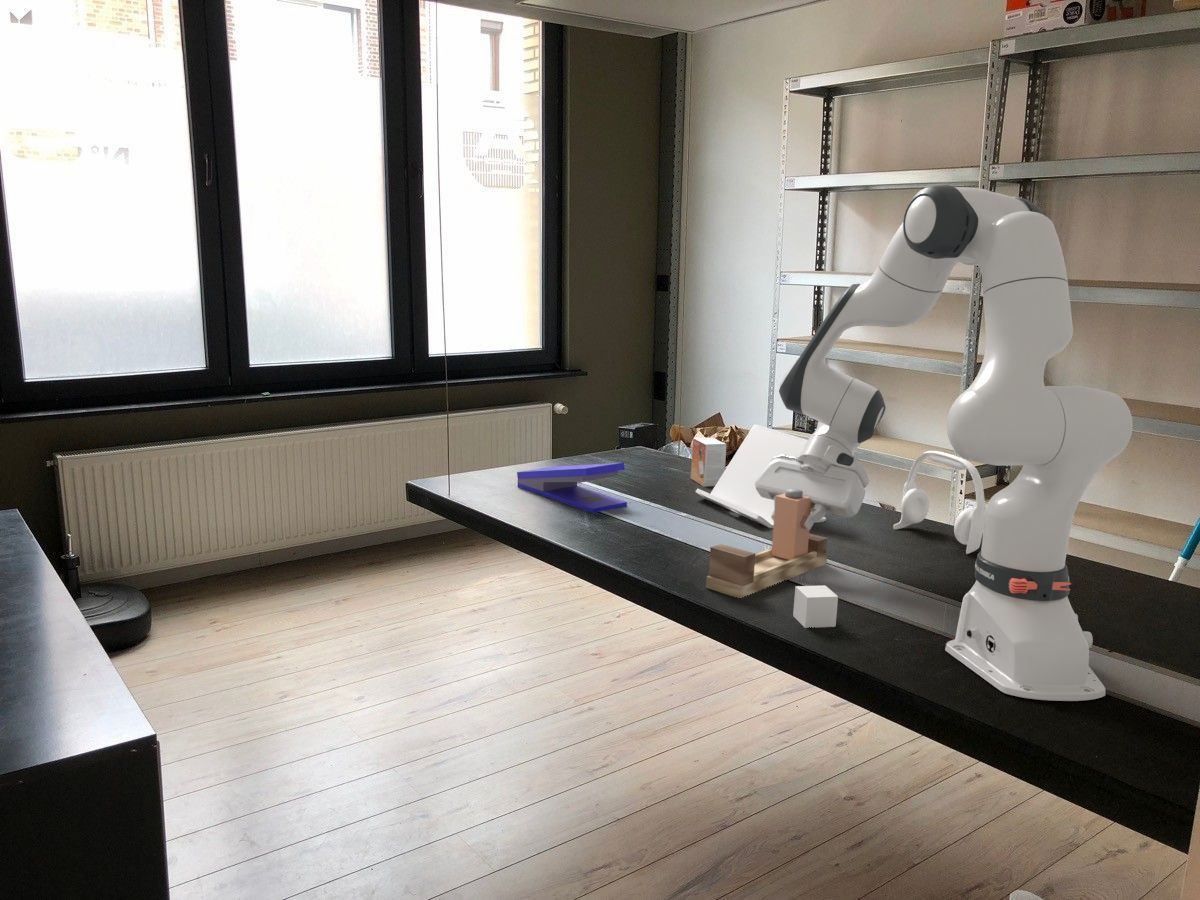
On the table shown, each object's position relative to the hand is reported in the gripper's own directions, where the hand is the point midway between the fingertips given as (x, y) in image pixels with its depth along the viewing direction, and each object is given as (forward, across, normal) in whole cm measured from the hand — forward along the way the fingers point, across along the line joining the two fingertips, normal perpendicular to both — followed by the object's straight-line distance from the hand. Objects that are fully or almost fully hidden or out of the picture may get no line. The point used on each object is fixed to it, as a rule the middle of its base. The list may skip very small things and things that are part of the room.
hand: (789, 523), depth 174 cm
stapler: (+2, -62, +11) cm, 63 cm away
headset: (-21, +11, +34) cm, 41 cm away
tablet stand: (-14, -26, +27) cm, 41 cm away
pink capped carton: (+4, 0, +5) cm, 6 cm away
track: (+10, 0, +2) cm, 10 cm away
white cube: (+19, +17, -7) cm, 26 cm away
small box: (-23, -50, +35) cm, 65 cm away
